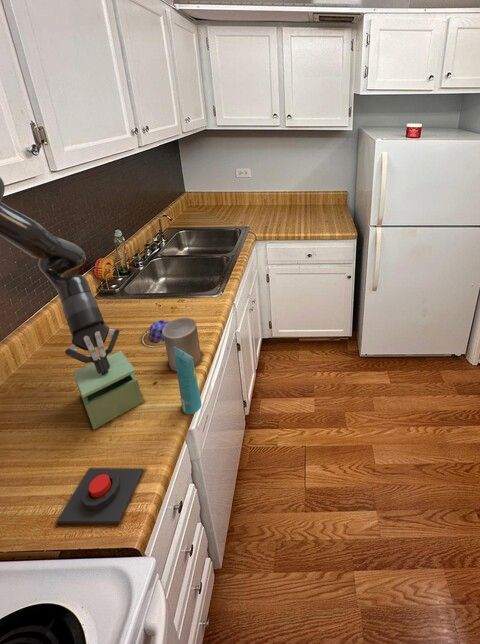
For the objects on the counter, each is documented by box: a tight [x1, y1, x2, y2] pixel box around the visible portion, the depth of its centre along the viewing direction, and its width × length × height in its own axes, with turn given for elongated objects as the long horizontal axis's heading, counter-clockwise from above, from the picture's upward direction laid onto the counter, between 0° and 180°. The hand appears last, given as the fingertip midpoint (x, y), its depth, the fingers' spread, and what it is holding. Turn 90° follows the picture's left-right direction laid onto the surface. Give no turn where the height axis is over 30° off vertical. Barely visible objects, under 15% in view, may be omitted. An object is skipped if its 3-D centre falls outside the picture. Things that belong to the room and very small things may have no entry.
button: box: [89, 474, 111, 498], centre depth 68 cm, size 4×4×2 cm
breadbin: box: [73, 373, 144, 431], centre depth 90 cm, size 14×12×9 cm
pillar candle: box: [162, 317, 202, 372], centre depth 103 cm, size 10×10×15 cm
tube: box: [174, 347, 202, 415], centre depth 87 cm, size 7×5×19 cm, turn 63°
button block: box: [56, 467, 144, 525], centre depth 69 cm, size 12×10×4 cm
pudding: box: [142, 319, 169, 348], centre depth 116 cm, size 12×12×5 cm
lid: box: [72, 350, 137, 398], centre depth 88 cm, size 15×12×1 cm
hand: (105, 372), depth 86 cm, fingers closed
